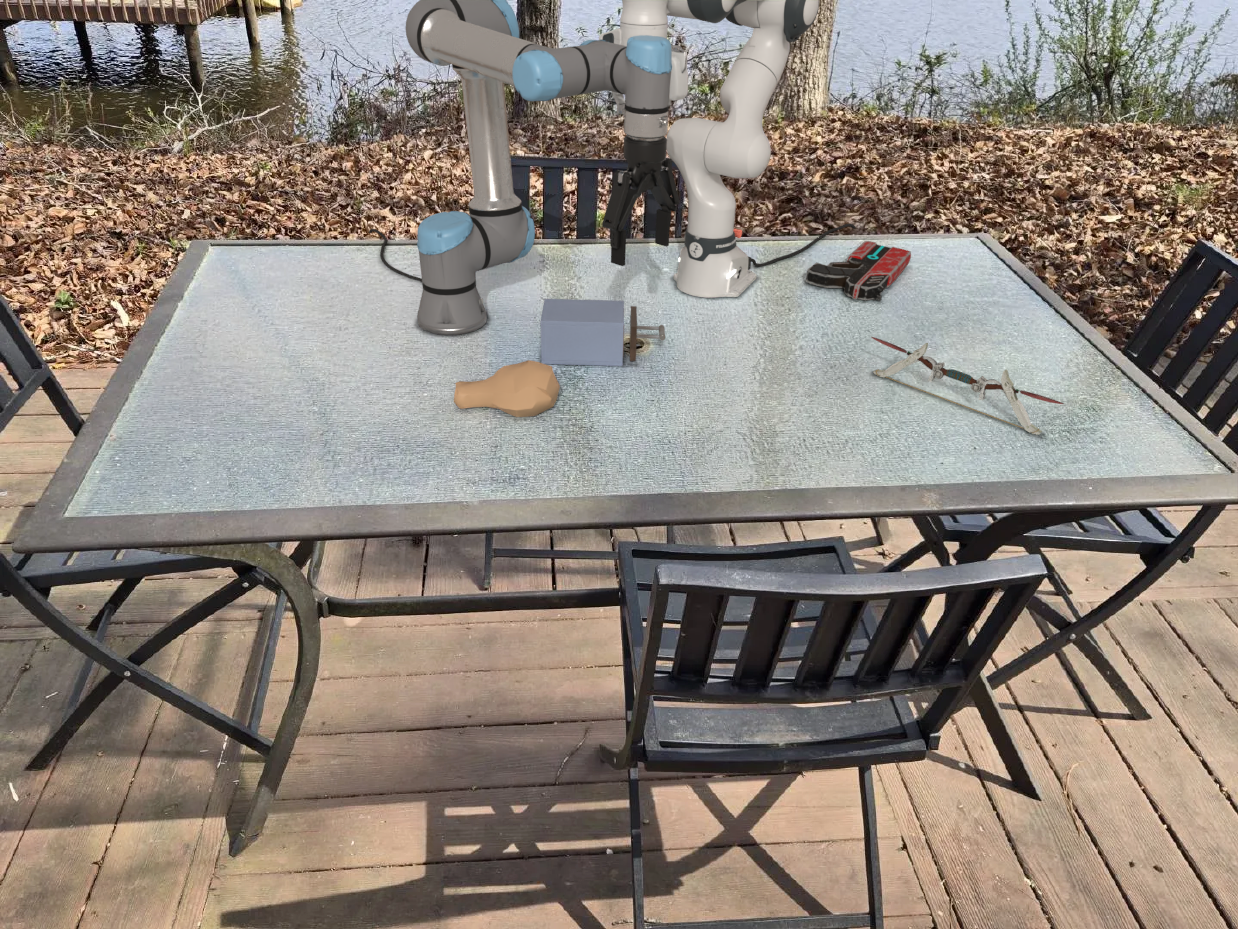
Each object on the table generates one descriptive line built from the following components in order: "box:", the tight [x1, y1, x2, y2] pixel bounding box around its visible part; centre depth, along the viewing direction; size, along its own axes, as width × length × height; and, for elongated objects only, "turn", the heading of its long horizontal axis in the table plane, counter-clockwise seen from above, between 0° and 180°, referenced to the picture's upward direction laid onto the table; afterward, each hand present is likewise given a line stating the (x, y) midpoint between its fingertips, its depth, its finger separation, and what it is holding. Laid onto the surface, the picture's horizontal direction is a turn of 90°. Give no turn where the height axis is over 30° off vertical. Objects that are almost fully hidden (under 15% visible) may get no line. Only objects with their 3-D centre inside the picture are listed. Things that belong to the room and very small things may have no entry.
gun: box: [805, 240, 912, 302], centre depth 224 cm, size 4×31×19 cm
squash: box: [453, 359, 561, 418], centre depth 163 cm, size 11×20×9 cm, turn 90°
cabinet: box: [540, 298, 625, 367], centre depth 183 cm, size 17×11×10 cm
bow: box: [870, 336, 1065, 436], centre depth 169 cm, size 39×2×10 cm, turn 47°
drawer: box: [623, 305, 666, 362], centre depth 183 cm, size 22×10×8 cm, turn 90°
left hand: (640, 254), depth 164 cm, fingers open, 13 cm apart
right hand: (640, 117), depth 171 cm, fingers open, 8 cm apart
